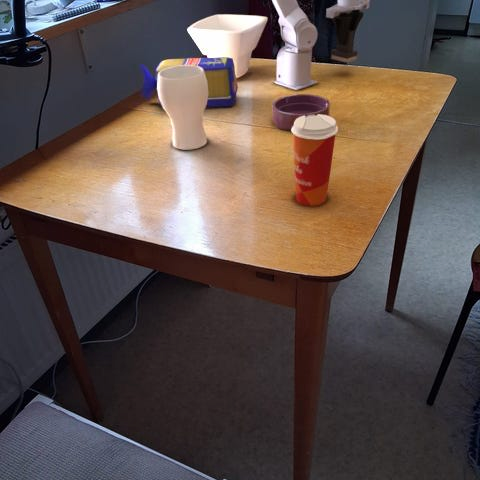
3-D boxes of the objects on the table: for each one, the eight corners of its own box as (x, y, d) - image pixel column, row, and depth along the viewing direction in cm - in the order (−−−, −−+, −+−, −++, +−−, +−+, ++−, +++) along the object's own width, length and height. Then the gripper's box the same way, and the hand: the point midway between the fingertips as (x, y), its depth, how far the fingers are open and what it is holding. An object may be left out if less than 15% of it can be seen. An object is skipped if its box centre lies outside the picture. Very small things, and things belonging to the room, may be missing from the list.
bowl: (217, 64, 153) (213, 13, 143) (273, 69, 146) (273, 16, 136) (187, 83, 141) (181, 28, 131) (247, 89, 134) (245, 32, 124)
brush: (331, 58, 136) (333, 29, 131) (340, 55, 138) (343, 26, 133) (346, 62, 133) (349, 33, 128) (356, 59, 134) (359, 30, 130)
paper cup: (287, 190, 91) (288, 115, 82) (327, 186, 91) (332, 111, 82) (293, 211, 86) (295, 133, 76) (336, 207, 86) (343, 128, 76)
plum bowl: (260, 121, 116) (260, 104, 114) (301, 106, 122) (301, 90, 119) (299, 137, 108) (299, 119, 106) (340, 120, 114) (341, 103, 111)
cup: (219, 135, 112) (213, 65, 101) (202, 155, 105) (194, 81, 94) (178, 131, 115) (168, 63, 104) (158, 150, 107) (146, 78, 97)
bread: (235, 109, 123) (233, 65, 116) (142, 111, 126) (133, 68, 119) (239, 95, 131) (237, 53, 124) (150, 97, 133) (143, 56, 126)
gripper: (342, -10, 118) (337, 51, 127) (381, -19, 124) (373, 40, 133) (321, -13, 122) (318, 47, 131) (360, -22, 128) (354, 36, 138)
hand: (345, 43), depth 133 cm, fingers closed on brush, 2 cm apart
